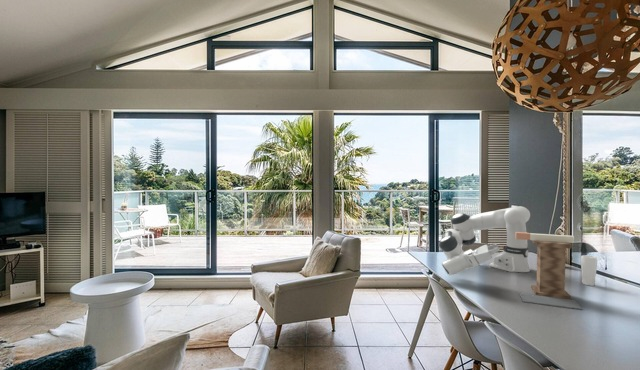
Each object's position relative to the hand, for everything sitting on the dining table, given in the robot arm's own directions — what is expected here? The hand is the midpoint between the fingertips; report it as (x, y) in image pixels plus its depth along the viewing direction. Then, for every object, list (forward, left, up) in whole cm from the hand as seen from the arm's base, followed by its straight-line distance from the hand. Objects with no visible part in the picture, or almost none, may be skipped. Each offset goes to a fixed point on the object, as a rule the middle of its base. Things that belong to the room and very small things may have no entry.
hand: (498, 246), depth 172 cm
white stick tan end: (+16, +10, +5) cm, 20 cm away
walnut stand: (+20, +12, -21) cm, 31 cm away
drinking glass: (+27, +44, -21) cm, 56 cm away
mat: (+24, -1, -21) cm, 32 cm away
